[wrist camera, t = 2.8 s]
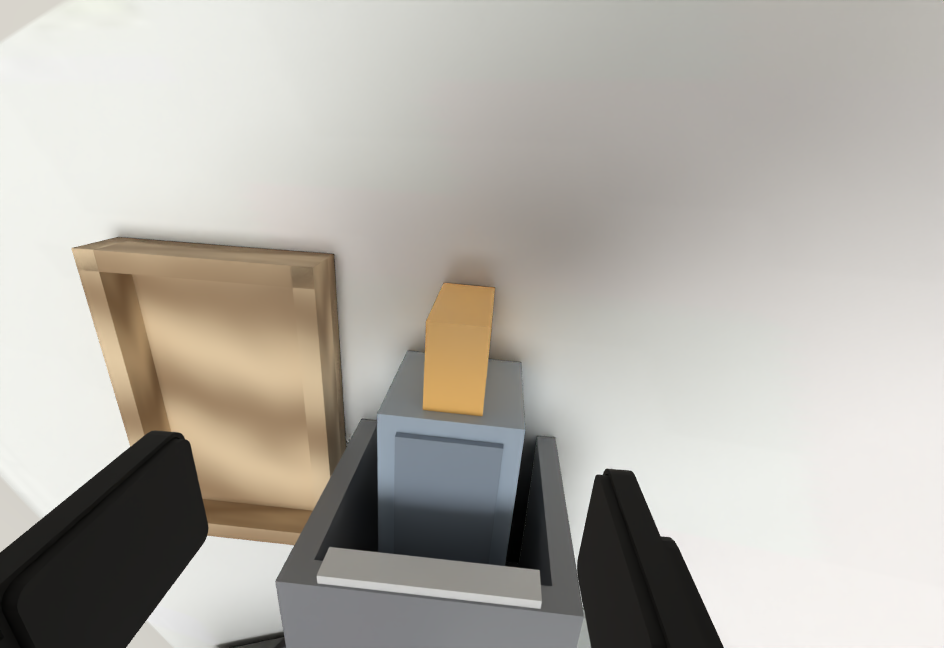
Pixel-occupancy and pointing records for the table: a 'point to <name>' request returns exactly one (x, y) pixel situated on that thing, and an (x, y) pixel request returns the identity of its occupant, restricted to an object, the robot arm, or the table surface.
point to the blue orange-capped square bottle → (451, 439)
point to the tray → (227, 369)
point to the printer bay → (426, 573)
